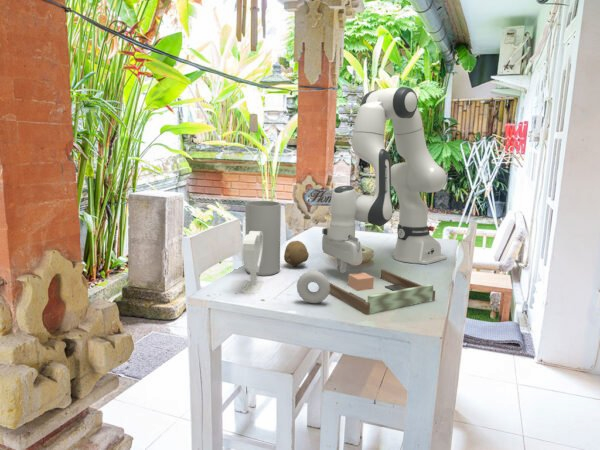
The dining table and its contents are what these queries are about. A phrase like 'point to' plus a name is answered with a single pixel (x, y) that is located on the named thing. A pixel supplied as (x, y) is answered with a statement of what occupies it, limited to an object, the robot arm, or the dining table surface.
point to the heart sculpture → (253, 259)
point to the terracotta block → (361, 281)
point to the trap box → (387, 295)
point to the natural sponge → (295, 253)
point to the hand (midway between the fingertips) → (340, 271)
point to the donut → (317, 278)
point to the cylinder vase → (266, 232)
